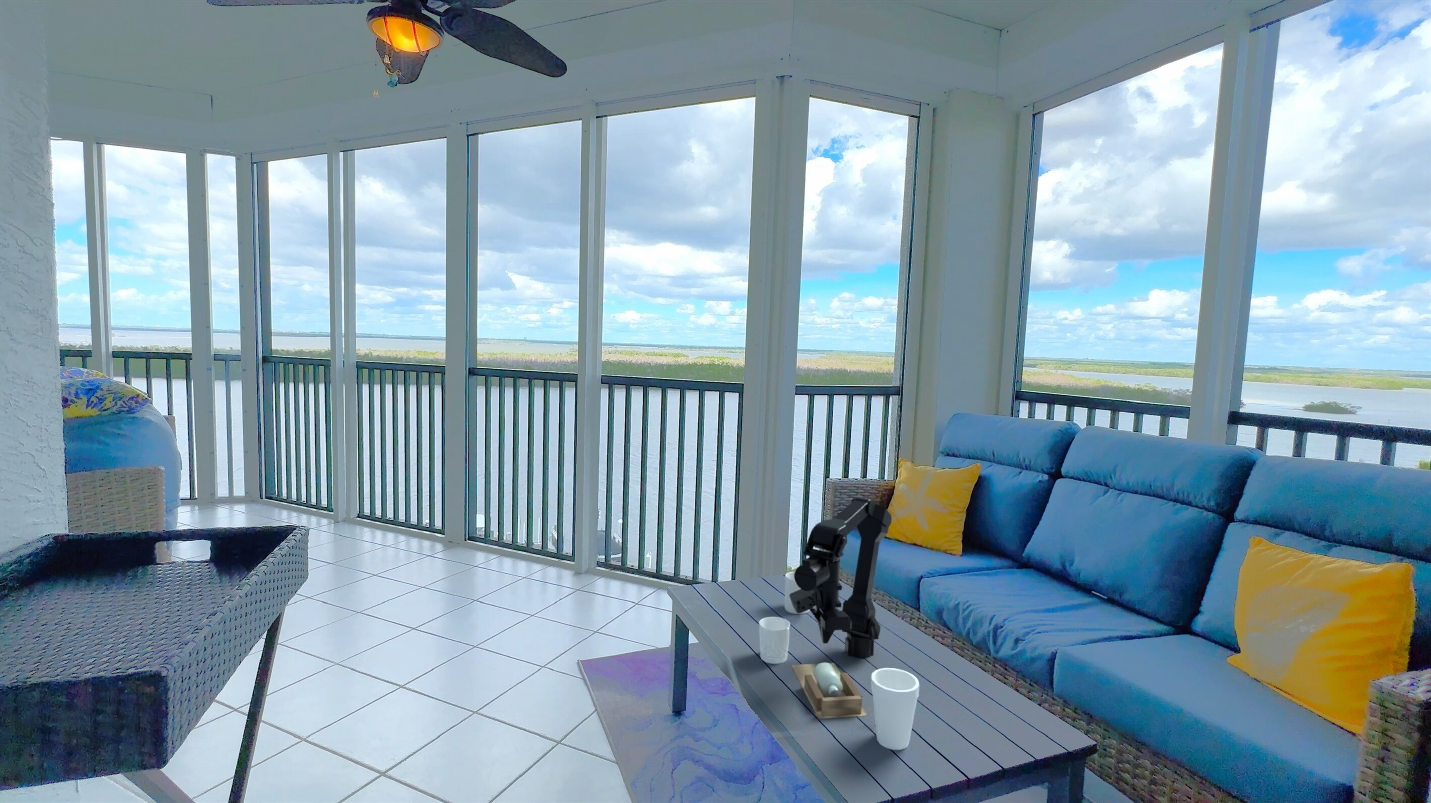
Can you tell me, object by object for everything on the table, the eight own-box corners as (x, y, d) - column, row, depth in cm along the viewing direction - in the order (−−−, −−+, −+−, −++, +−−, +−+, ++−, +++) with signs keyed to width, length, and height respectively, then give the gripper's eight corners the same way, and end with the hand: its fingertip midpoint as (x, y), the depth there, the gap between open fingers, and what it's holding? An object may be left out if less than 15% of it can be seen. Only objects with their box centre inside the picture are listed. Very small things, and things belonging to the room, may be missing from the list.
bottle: (834, 662, 149) (847, 685, 139) (833, 682, 150) (846, 707, 139) (813, 662, 149) (825, 686, 139) (813, 682, 149) (824, 707, 139)
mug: (780, 605, 197) (780, 573, 196) (802, 602, 200) (803, 570, 199) (798, 621, 185) (799, 587, 184) (822, 617, 188) (823, 583, 187)
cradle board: (833, 666, 159) (834, 649, 159) (867, 719, 137) (868, 699, 136) (791, 668, 158) (791, 651, 157) (818, 722, 135) (818, 702, 135)
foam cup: (881, 721, 136) (883, 663, 135) (923, 738, 130) (926, 678, 129) (861, 741, 129) (863, 680, 128) (904, 761, 123) (907, 697, 122)
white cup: (753, 663, 160) (754, 625, 159) (765, 650, 167) (766, 614, 166) (782, 671, 157) (783, 632, 156) (793, 658, 163) (794, 620, 163)
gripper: (783, 565, 155) (781, 626, 157) (804, 595, 137) (802, 664, 138) (827, 564, 157) (825, 624, 158) (853, 593, 139) (851, 661, 140)
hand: (824, 642), depth 149 cm, fingers closed
